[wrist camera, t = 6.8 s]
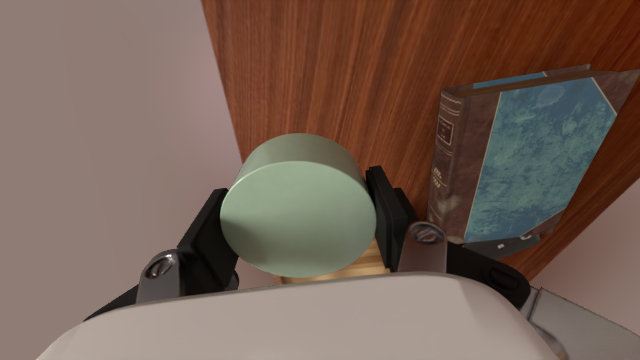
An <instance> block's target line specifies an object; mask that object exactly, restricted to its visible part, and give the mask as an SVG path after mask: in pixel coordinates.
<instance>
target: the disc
mask: <svg viewBox="0 0 640 360" xmlns="http://www.w3.org/2000/svg"><path fill="white" fill-rule="evenodd" d="M220 224H221V229H222V233H223V235H224V237H225V239H226V241H227V243H228V244H229V246H230V247H231V248H232V250H233V251H234V252H235V253H236V254H237V255H238V256H239V257H240V258H241V259H243V260H244V261H246V262H247V263H249V264H250V265H252V266H254V267H256V268H258V269H260V270H262V271H265V272H268V273H271V274H275V275H278V276H284V277H293V278H307V277H316V276H322V275H326V274H330V273H333V272H336V271H338V270H340V269H343V268H345V267H346V266H348V265H350V264H351V263H353V262H354V261H356V260H357V259H358V258H359V257H360V256H361V255H362V254H363V253H364V252H365V251H366V250H367V249H368V247H369V245H370V244H371V242H372V240H373V238H374V235H375V232H376V228H377V215H376V209H375V205H374V202H373V200H372V197H371V194H370V192H369V189H368V186H367V184H366V181H365V178H364V176H363V173H362V170H361V168H360V166H359V164H358V162H357V161H356V160H355V158H354V157H353V156H352V155H351V154H350V153H349V151H347V150H346V149H345V148H344V147H342V146H341V145H339V144H338V143H336V142H334V141H332V140H330V139H328V138H325V137H322V136H318V135H313V134H304V133H296V134H287V135H282V136H278V137H276V138H273V139H270V140H268V141H267V142H265V143H263V144H261V145H260V146H259V147H257V148H256V149H255V150H254V151H253V152H252V153H251V154H250V155H249V156H248V158H247V159H246V160H245V162H244V164H243V166H242V168H241V169H240V171H239V173H238V175H237V177H236V178H235V180H234V182H233V184H232V186H231V187H230V189H229V191H228V193H227V195H226V196H225V198H224V200H223V203H222V207H221V212H220Z"/></svg>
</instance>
